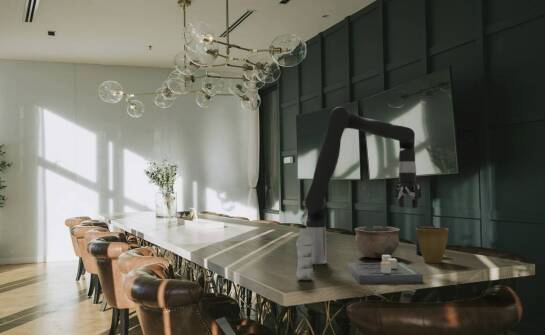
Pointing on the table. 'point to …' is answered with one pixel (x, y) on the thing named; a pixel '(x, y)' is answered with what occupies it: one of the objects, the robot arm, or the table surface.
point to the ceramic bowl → (377, 241)
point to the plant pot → (432, 243)
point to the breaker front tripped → (385, 267)
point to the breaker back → (385, 258)
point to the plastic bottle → (304, 256)
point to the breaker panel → (374, 274)
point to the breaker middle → (392, 263)
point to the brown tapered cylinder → (417, 239)
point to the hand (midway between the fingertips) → (408, 207)
